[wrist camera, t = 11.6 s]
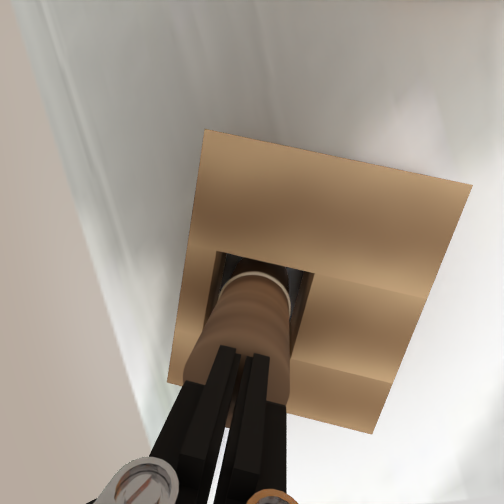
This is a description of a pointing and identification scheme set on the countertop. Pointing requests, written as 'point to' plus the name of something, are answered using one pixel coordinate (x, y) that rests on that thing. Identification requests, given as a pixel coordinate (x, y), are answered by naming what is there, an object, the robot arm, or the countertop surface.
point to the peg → (248, 328)
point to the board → (320, 263)
